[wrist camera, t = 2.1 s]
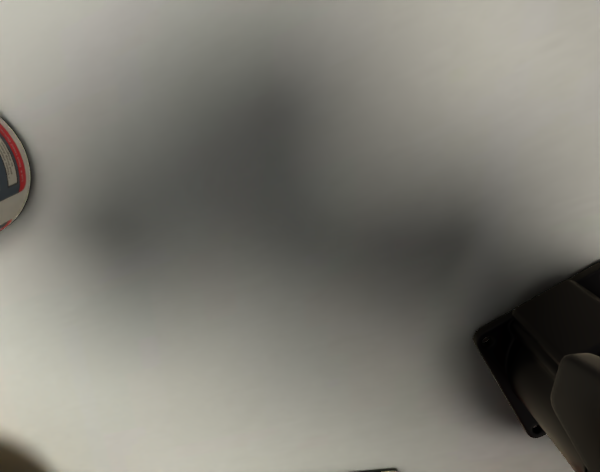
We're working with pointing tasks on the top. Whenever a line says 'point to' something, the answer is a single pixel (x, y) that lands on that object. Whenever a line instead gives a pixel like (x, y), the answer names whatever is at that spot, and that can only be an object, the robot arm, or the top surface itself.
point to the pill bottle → (12, 175)
